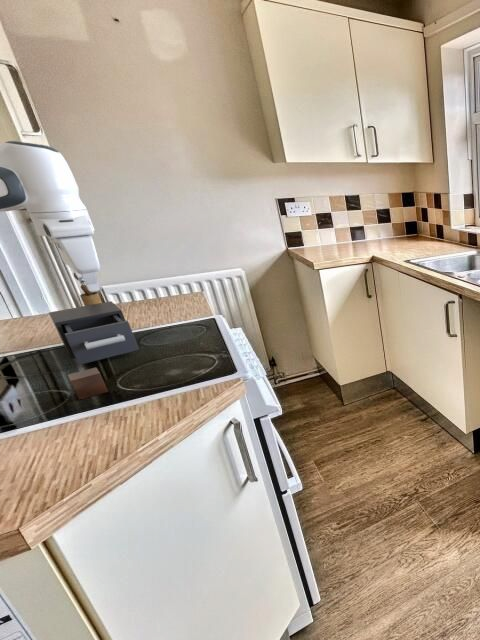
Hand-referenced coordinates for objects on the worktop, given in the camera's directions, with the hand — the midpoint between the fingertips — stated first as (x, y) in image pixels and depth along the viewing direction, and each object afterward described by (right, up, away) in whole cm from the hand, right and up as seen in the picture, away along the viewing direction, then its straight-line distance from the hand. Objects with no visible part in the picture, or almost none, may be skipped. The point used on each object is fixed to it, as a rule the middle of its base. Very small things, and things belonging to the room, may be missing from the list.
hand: (90, 287), depth 96 cm
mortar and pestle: (-27, -9, +31) cm, 42 cm away
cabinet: (-17, -13, +19) cm, 29 cm away
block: (+7, -23, -6) cm, 25 cm away
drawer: (-7, -15, +11) cm, 20 cm away
